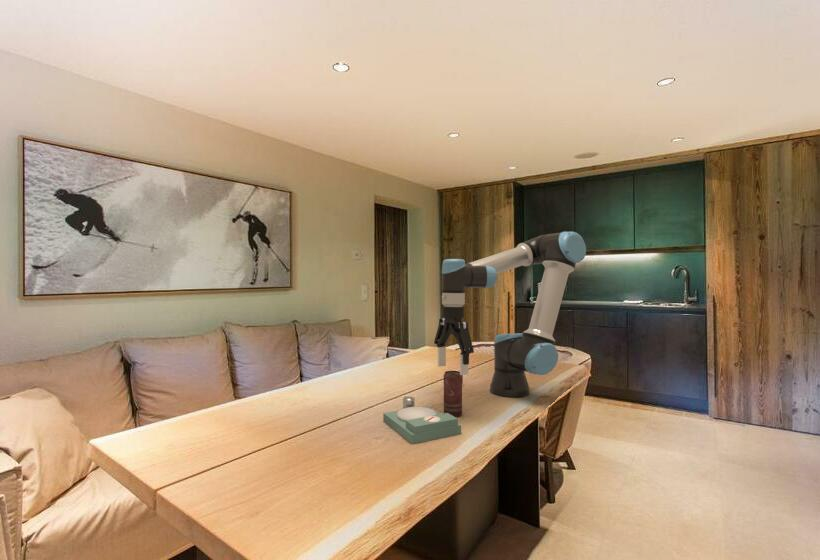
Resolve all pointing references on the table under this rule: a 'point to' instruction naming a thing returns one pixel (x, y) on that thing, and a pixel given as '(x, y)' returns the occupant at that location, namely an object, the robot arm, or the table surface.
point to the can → (453, 393)
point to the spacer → (408, 402)
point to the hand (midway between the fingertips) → (452, 370)
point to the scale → (422, 424)
